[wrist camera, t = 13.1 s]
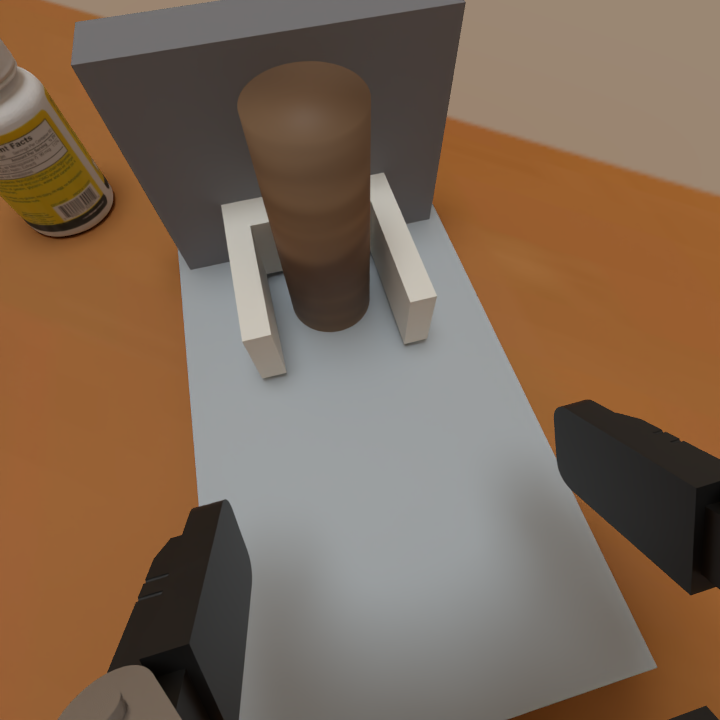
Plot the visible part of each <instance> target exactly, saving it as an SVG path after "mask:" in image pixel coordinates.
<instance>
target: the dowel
mask: <svg viewBox="0 0 720 720" xmlns="http://www.w3.org/2000/svg"><path fill="white" fill-rule="evenodd" d="M237 109H238V113H239V117H240V121H241V124H242V128H243V131H244V135H245V138H246V142H247V145H248V149H249V152H250V156H251V160H252V163H253V167H254V170H255V174H256V177H257V181H258V184H259V188H260V192H261V195H262V199H263V202H264V206H265V209H266V213H267V216H268V220H269V224H270V227H271V231H272V234H273V238H274V241H275V245H276V248H277V252H278V255H279V259H280V263H281V266H282V270H283V273H284V277H285V280H286V284H287V287H288V291H289V295H290V298H291V302H292V305H293V309H294V312H295V314H296V316H297V317H298V318H299V320H300V321H301V322H302V323H303V324H305V325H306V326H308V327H310V328H312V329H314V330H317V331H322V332H337V331H342V330H345V329H347V328H350V327H352V326H353V325H355V324H356V323H357V322H359V321H360V320H361V319H362V318H363V316H364V315H365V313H366V311H367V309H368V306H369V301H370V162H371V94H370V90H369V88H368V86H367V84H366V83H365V81H364V80H363V79H362V78H361V77H360V76H358V75H357V74H356V73H354V72H353V71H351V70H349V69H347V68H344V67H342V66H339V65H336V64H332V63H327V62H318V61H302V62H293V63H287V64H283V65H279V66H276V67H274V68H271V69H269V70H266V71H264V72H262V73H261V74H259V75H257V76H256V77H254V78H253V79H252V80H251V81H250V82H248V83H247V85H246V86H245V87H244V88H243V90H242V91H241V93H240V95H239V98H238V102H237Z"/></svg>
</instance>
